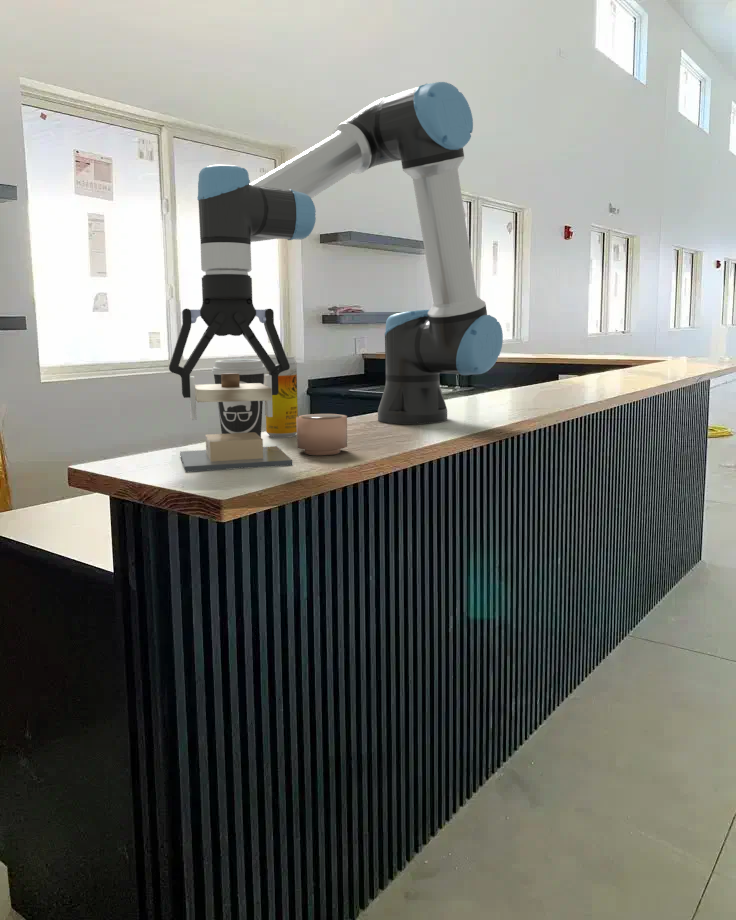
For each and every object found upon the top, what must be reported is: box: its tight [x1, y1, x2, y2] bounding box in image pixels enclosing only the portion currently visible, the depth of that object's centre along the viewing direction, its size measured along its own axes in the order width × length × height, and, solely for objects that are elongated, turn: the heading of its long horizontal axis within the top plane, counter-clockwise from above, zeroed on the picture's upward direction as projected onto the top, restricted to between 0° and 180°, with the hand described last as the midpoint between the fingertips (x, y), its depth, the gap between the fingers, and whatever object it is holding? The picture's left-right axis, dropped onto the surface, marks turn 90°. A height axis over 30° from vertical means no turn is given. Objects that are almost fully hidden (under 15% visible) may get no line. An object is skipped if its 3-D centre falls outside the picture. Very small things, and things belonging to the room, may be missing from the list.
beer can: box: [264, 355, 299, 439], centre depth 149 cm, size 6×6×15 cm
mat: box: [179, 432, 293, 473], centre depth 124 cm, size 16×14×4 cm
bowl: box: [296, 413, 348, 456], centre depth 131 cm, size 8×8×6 cm
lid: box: [195, 373, 272, 403], centre depth 122 cm, size 11×11×4 cm
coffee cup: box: [210, 358, 267, 438], centre depth 137 cm, size 10×10×15 cm
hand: (231, 417), depth 123 cm, fingers closed on lid, 11 cm apart
